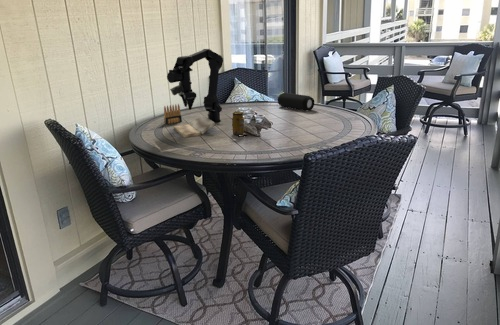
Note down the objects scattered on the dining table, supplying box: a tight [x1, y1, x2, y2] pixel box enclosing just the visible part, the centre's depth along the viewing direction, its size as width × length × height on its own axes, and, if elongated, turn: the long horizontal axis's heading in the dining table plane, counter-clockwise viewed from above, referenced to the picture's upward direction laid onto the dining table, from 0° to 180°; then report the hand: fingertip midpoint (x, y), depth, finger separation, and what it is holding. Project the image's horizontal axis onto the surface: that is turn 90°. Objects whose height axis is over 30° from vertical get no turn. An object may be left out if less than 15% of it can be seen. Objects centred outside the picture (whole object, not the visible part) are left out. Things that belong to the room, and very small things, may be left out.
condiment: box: [231, 111, 245, 137], centre depth 215 cm, size 7×8×12 cm
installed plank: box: [173, 124, 201, 139], centre depth 221 cm, size 9×20×2 cm, turn 26°
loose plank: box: [188, 114, 216, 134], centre depth 224 cm, size 9×20×2 cm, turn 25°
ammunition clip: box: [163, 103, 183, 125], centre depth 241 cm, size 11×2×12 cm, turn 125°
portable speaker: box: [277, 92, 315, 112], centre depth 274 cm, size 26×10×10 cm, turn 44°
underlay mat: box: [167, 126, 221, 140], centre depth 223 cm, size 23×22×1 cm
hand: (187, 108), depth 228 cm, fingers open, 9 cm apart
